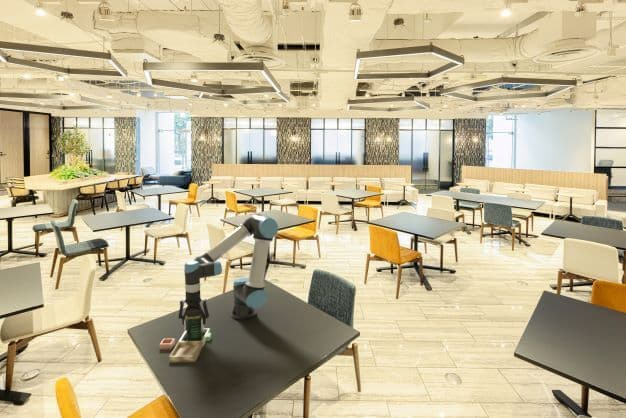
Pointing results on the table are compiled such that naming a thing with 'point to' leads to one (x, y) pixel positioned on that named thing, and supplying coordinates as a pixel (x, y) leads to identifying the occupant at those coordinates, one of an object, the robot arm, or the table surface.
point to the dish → (167, 344)
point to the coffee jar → (193, 324)
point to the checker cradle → (206, 330)
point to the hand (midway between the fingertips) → (194, 330)
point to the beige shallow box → (186, 351)
